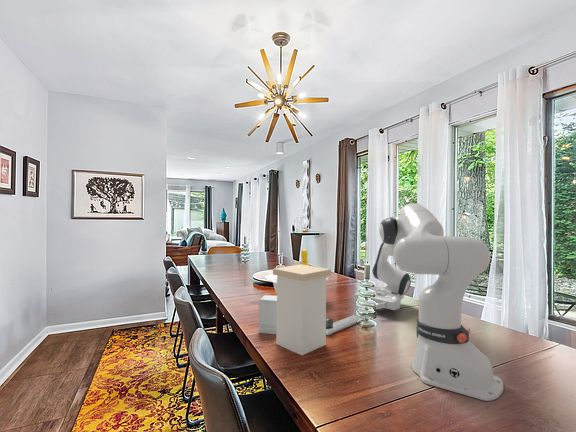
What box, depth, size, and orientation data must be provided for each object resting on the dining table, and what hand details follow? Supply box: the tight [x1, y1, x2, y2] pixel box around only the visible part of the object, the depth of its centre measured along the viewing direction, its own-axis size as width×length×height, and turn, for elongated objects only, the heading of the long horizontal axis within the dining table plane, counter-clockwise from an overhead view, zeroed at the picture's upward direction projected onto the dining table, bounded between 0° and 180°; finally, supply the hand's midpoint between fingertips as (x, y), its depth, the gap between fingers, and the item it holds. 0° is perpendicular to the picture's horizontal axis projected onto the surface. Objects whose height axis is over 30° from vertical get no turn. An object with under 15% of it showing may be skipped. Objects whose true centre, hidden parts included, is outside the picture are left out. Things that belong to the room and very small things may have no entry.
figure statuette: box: [300, 249, 310, 266], centre depth 200 cm, size 18×8×22 cm, turn 26°
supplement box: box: [258, 294, 277, 335], centre depth 121 cm, size 7×7×13 cm
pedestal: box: [272, 263, 332, 356], centre depth 108 cm, size 14×14×26 cm
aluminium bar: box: [326, 314, 360, 336], centre depth 126 cm, size 4×22×6 cm, turn 135°
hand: (367, 303), depth 139 cm, fingers open, 8 cm apart
